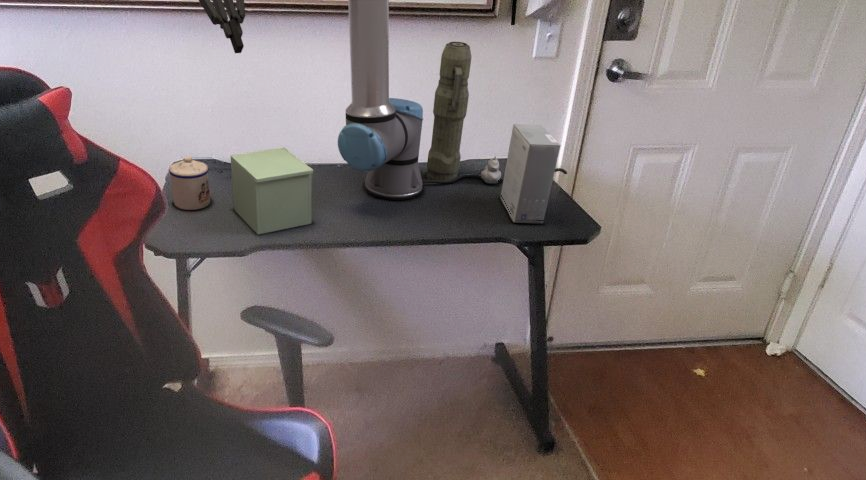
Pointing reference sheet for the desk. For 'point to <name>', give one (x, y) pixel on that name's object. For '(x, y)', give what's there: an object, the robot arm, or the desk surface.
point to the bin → (272, 201)
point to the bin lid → (271, 164)
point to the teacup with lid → (190, 184)
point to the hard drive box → (529, 172)
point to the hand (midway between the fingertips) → (239, 49)
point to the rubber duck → (491, 171)
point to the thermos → (449, 112)
